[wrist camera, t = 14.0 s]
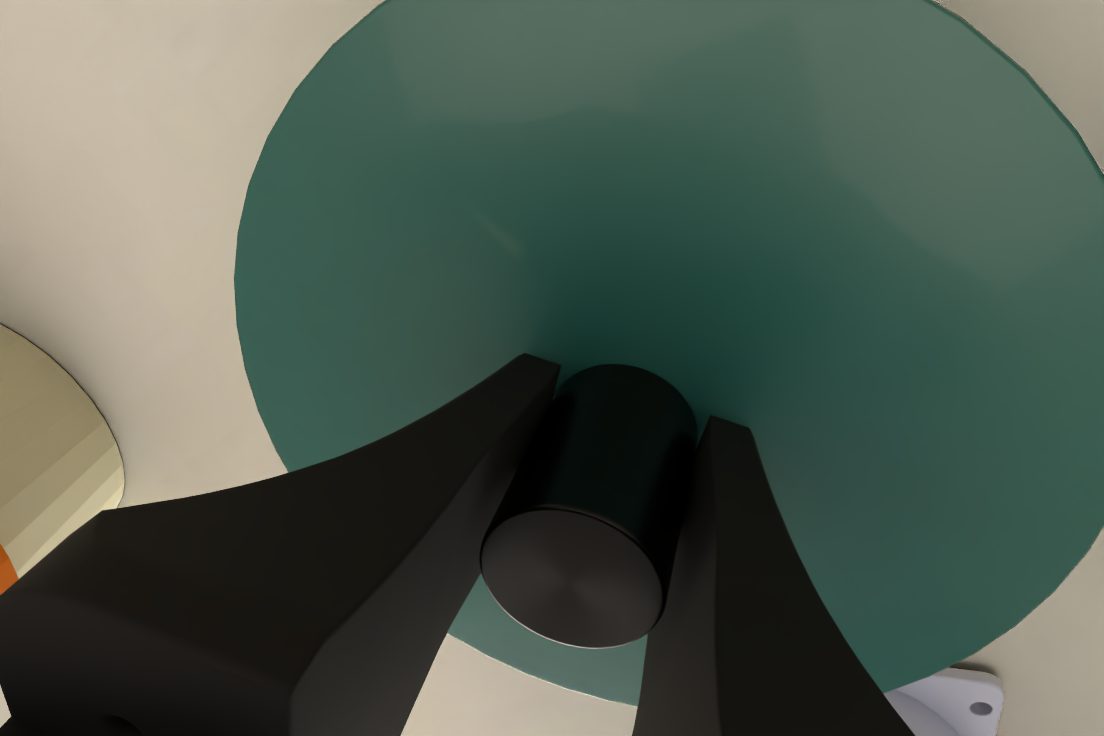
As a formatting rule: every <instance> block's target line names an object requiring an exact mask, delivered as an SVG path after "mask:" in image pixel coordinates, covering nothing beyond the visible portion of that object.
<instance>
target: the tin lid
mask: <svg viewBox="0 0 1104 736" xmlns="http://www.w3.org/2000/svg"><path fill="white" fill-rule="evenodd" d="M234 286H235V303H236V321H237V329H238V334H239V340H240V345H241V350H242V355H243V361H244V366H245V370H246V374H247V377H248V380H249V383H250V386H251V389H252V393H253V396H254V399H255V402H256V405H257V408H258V411H259V414H260V416H261V418H262V420H263V423H264V425H265V427H266V429H267V432H268V434H269V436H270V438H271V441H272V443H273V445H274V447H275V450H276V451H277V453H278V455H279V457H280V458H281V460H282V462H283V464H284V465H285V467H286V469H287V471H288V472H292V471H296V470H299V469H302V468H305V467H308V466H311V465H314V464H317V463H320V462H323V461H326V460H329V459H332V458H335V457H338V456H341V455H343V454H346V453H348V452H350V451H353V450H355V449H358V448H360V447H362V446H365V445H367V444H369V443H372V442H374V441H376V440H378V439H380V438H383V437H385V436H387V435H389V434H391V433H393V432H395V431H397V430H399V429H401V428H403V427H405V426H407V425H408V424H410V423H412V422H414V421H416V420H418V419H420V418H422V417H423V416H425V415H427V414H429V413H431V412H433V411H435V410H436V409H438V408H440V407H441V406H443V405H445V404H446V403H448V402H450V401H451V400H453V399H455V398H456V397H458V396H459V395H461V394H463V393H464V392H466V391H467V390H469V389H471V388H472V387H474V386H475V385H477V384H478V383H480V382H481V381H483V380H484V379H486V378H487V377H489V376H490V375H492V374H493V373H495V372H496V371H497V370H499V369H500V368H502V367H503V366H504V365H506V364H507V363H509V362H510V361H511V360H513V359H514V358H515V357H517V356H519V355H521V354H523V353H527V354H530V355H533V356H536V357H539V358H542V359H545V360H548V361H551V362H554V363H557V364H560V365H561V368H560V372H559V376H558V380H557V384H556V387H555V391H554V395H553V399H552V403H551V405H550V406H549V408H548V410H547V412H546V414H545V416H544V418H543V420H542V422H541V424H540V426H539V428H538V430H537V432H536V434H535V436H534V438H533V440H532V442H531V444H530V446H529V448H528V450H527V451H526V453H525V455H524V457H523V459H522V461H521V463H520V465H519V467H518V469H517V471H516V473H515V475H514V477H513V479H512V481H511V483H510V485H509V487H508V489H507V491H506V493H505V495H504V497H503V499H502V501H501V503H500V505H499V507H498V509H497V511H496V513H495V515H494V517H493V519H492V521H491V523H490V525H489V527H488V529H487V531H486V533H485V535H484V537H483V540H482V542H481V547H480V553H479V562H480V569H481V574H480V575H479V577H478V579H477V581H476V582H475V584H474V586H473V588H472V589H471V591H470V593H469V595H468V596H467V598H466V600H465V602H464V603H463V605H462V607H461V609H460V610H459V612H458V614H457V616H456V617H455V619H454V621H453V622H452V624H451V626H450V628H449V630H448V632H447V633H448V634H450V635H451V636H453V637H455V638H457V639H458V640H460V641H462V642H464V643H465V644H467V645H469V646H471V647H472V648H474V649H476V650H478V651H480V652H481V653H483V654H485V655H487V656H489V657H491V658H493V659H495V660H497V661H500V662H502V663H504V664H506V665H508V666H510V667H512V668H515V669H517V670H519V671H521V672H523V673H525V674H528V675H531V676H533V677H536V678H539V679H542V680H544V681H547V682H550V683H552V684H555V685H558V686H560V687H563V688H566V689H569V690H573V691H576V692H580V693H583V694H587V695H590V696H594V697H597V698H601V699H604V700H608V701H613V702H618V703H623V704H628V705H633V706H638V703H639V697H640V691H641V683H642V675H643V668H644V660H645V652H646V645H647V637H648V633H649V632H650V631H651V630H652V629H653V628H654V626H655V625H656V624H657V623H658V622H659V620H660V619H661V617H662V615H663V613H664V610H665V608H666V603H667V598H668V592H669V587H670V582H671V577H672V571H673V566H674V561H675V556H676V551H677V545H678V540H679V535H680V530H681V524H682V519H683V514H684V509H685V503H686V498H687V493H688V488H689V482H690V477H691V472H692V467H693V461H694V456H695V451H696V449H697V446H698V444H699V442H700V439H701V437H702V434H703V432H704V429H705V427H706V425H707V422H708V420H709V417H710V415H713V416H716V417H719V418H722V419H725V420H728V421H730V422H733V423H736V424H739V425H742V426H745V427H748V428H750V430H751V432H752V434H753V436H754V439H755V442H756V445H757V449H758V452H759V455H760V458H761V461H762V464H763V467H764V470H765V473H766V476H767V479H768V482H769V484H770V487H771V490H772V493H773V495H774V498H775V501H776V503H777V506H778V508H779V510H780V513H781V515H782V518H783V520H784V522H785V525H786V527H787V530H788V532H789V535H790V537H791V539H792V541H793V543H794V546H795V548H796V550H797V552H798V554H799V557H800V559H801V561H802V563H803V565H804V567H805V569H806V571H807V573H808V575H809V577H810V579H811V581H812V583H813V585H814V587H815V588H816V590H817V592H818V594H819V596H820V598H821V600H822V602H823V603H824V605H825V607H826V608H827V610H828V612H829V613H830V615H831V616H832V618H833V620H834V621H835V623H836V625H837V626H838V628H839V630H840V631H841V633H842V635H843V636H844V638H845V639H846V641H847V643H848V644H849V646H850V647H851V649H852V650H853V652H854V653H855V655H856V656H857V658H858V659H859V661H860V662H861V664H862V665H863V666H864V668H865V669H866V670H867V672H868V673H869V675H870V676H871V677H872V679H873V680H874V682H875V683H876V684H877V686H878V687H879V688H880V690H881V691H882V693H883V694H884V693H887V692H889V691H892V690H895V689H898V688H900V687H903V686H906V685H908V684H911V683H914V682H916V681H919V680H922V679H924V678H927V677H930V676H932V675H934V674H935V673H937V672H939V671H941V670H943V669H945V668H947V667H949V666H951V665H953V664H955V663H957V662H959V661H961V660H963V659H965V658H967V657H969V656H971V655H973V654H975V653H976V652H978V651H979V650H980V649H982V648H983V647H985V646H986V645H988V644H989V643H991V642H992V641H994V640H995V639H997V638H998V637H1000V636H1001V635H1003V634H1004V633H1006V632H1007V631H1009V630H1010V629H1012V628H1013V627H1015V626H1016V625H1017V624H1018V623H1019V622H1021V621H1022V620H1023V619H1024V618H1025V617H1026V616H1027V615H1028V614H1030V613H1031V612H1032V611H1033V610H1034V609H1035V608H1036V607H1037V606H1039V605H1040V604H1041V603H1042V602H1043V601H1044V600H1045V599H1046V598H1048V597H1049V596H1050V595H1051V594H1052V593H1053V592H1054V591H1055V590H1056V589H1057V588H1058V587H1059V585H1060V584H1061V583H1062V582H1063V581H1064V580H1065V578H1066V577H1067V576H1068V575H1069V574H1070V572H1071V571H1072V570H1073V569H1074V568H1075V566H1076V565H1077V564H1078V563H1079V562H1080V560H1081V559H1082V558H1083V557H1084V556H1085V555H1086V553H1087V552H1088V551H1089V550H1090V548H1091V546H1092V545H1093V543H1094V541H1095V540H1096V538H1097V536H1098V535H1099V533H1100V531H1101V530H1102V528H1103V526H1104V175H1103V173H1102V172H1101V170H1100V168H1099V167H1098V165H1097V163H1096V162H1095V160H1094V158H1093V157H1092V155H1091V153H1090V151H1089V150H1088V148H1087V146H1086V145H1085V143H1084V141H1083V140H1082V138H1081V136H1080V135H1079V133H1078V131H1077V130H1076V129H1075V128H1074V126H1073V125H1072V124H1071V123H1070V122H1069V121H1068V119H1067V118H1066V117H1065V116H1064V115H1063V114H1062V112H1061V111H1060V110H1059V109H1058V108H1057V107H1056V105H1055V104H1054V103H1053V102H1052V101H1051V100H1050V98H1049V97H1048V96H1047V95H1046V94H1045V93H1044V91H1043V90H1042V89H1041V88H1040V87H1039V86H1038V84H1037V83H1036V82H1035V81H1034V80H1033V79H1032V77H1031V76H1030V75H1029V74H1028V73H1027V72H1026V71H1025V70H1024V69H1023V68H1022V67H1021V66H1019V65H1018V64H1017V63H1016V62H1015V61H1013V60H1012V59H1011V58H1010V57H1009V56H1007V55H1006V54H1005V53H1004V52H1003V51H1001V50H1000V49H999V48H998V47H997V46H995V45H994V44H993V43H992V42H991V41H989V40H988V39H987V38H986V37H985V36H983V35H982V34H981V33H980V32H979V31H977V30H976V29H975V28H974V27H973V26H971V25H970V24H969V23H968V22H967V21H965V20H964V19H963V18H961V17H960V16H958V15H957V14H955V13H953V12H952V11H950V10H948V9H947V8H945V7H943V6H942V5H940V4H938V3H937V2H935V1H933V0H386V1H384V2H382V3H381V4H379V5H378V6H377V7H375V8H374V9H373V10H372V11H371V12H370V13H369V14H367V15H366V16H365V17H364V18H363V19H362V20H360V21H359V22H358V23H357V24H356V25H355V26H354V27H352V28H351V29H350V30H349V31H348V32H347V33H346V34H344V35H343V36H342V37H341V38H340V39H339V40H337V41H336V42H335V43H334V44H333V45H332V46H331V47H330V48H329V49H328V51H327V52H326V53H325V54H324V55H323V57H322V58H321V59H320V60H319V61H318V63H317V64H316V65H315V66H314V68H313V69H312V70H311V71H310V72H309V74H308V75H307V76H306V77H305V78H304V80H303V81H302V82H301V83H300V84H299V86H298V87H297V88H296V89H295V91H294V93H293V94H292V96H291V98H290V99H289V101H288V103H287V104H286V106H285V108H284V109H283V111H282V113H281V115H280V116H279V118H278V120H277V121H276V123H275V125H274V126H273V128H272V130H271V132H270V133H269V135H268V137H267V139H266V142H265V144H264V147H263V150H262V152H261V155H260V157H259V160H258V162H257V165H256V167H255V170H254V172H253V175H252V177H251V180H250V182H249V185H248V190H247V194H246V199H245V203H244V207H243V212H242V216H241V220H240V225H239V229H238V236H237V249H236V262H235V274H234Z"/></svg>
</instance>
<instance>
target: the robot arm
mask: <svg viewBox="0 0 1104 736" xmlns="http://www.w3.org/2000/svg"><path fill="white" fill-rule="evenodd" d="M560 368H561V365H560V364H557V363H554V362H551V361H548V360H545V359H542V358H539V357H536V356H533V355H530V354H527V353H523V354H521V355H519V356H517V357H515V358H514V359H513V360H511V361H510V362H509V363H507V364H506V365H504V366H503V367H502V368H500V369H499V370H497V371H496V372H495V373H493V374H492V375H490V376H489V377H487V378H486V379H484V380H483V381H481V382H480V383H478V384H477V385H475V386H474V387H472V388H471V389H469V390H467V391H466V392H464V393H463V394H461V395H459V396H458V397H456V398H455V399H453V400H451V401H450V402H448V403H446V404H445V405H443V406H441V407H440V408H438V409H436V410H435V411H433V412H431V413H429V414H427V415H425V416H423V417H422V418H420V419H418V420H416V421H414V422H412V423H410V424H408V425H407V426H405V427H403V428H401V429H399V430H397V431H395V432H393V433H391V434H389V435H387V436H385V437H383V438H380V439H378V440H376V441H374V442H372V443H369V444H367V445H365V446H362V447H360V448H358V449H355V450H353V451H350V452H348V453H346V454H343V455H341V456H338V457H335V458H332V459H329V460H326V461H323V462H320V463H317V464H314V465H311V466H308V467H305V468H302V469H299V470H296V471H292V472H289V473H286V474H283V475H280V476H277V477H273V478H269V479H265V480H262V481H258V482H254V483H250V484H246V485H242V486H238V487H233V488H229V489H224V490H220V491H216V492H211V493H206V494H201V495H196V496H191V497H186V498H180V499H174V500H167V501H161V502H155V503H148V504H142V505H136V506H130V507H123V508H116V509H108V510H102V511H101V512H99V513H98V514H97V515H95V516H94V517H93V518H91V519H90V520H89V521H87V522H86V523H85V524H83V525H82V526H81V527H79V528H78V529H77V530H75V531H74V532H73V533H71V534H70V535H69V536H68V537H67V538H65V539H64V540H63V541H62V542H61V543H60V544H59V545H57V546H56V547H55V548H54V549H53V550H52V551H51V552H50V553H48V554H47V555H46V556H45V557H44V558H43V559H41V560H40V561H39V562H38V563H37V564H36V565H35V566H33V567H32V568H31V569H30V570H29V571H28V572H27V573H25V574H24V575H23V576H22V577H21V578H20V579H18V580H17V581H16V582H15V583H14V584H13V585H12V586H10V587H9V588H8V589H7V590H6V591H5V592H4V593H2V594H1V595H0V685H1V688H2V691H3V694H4V697H5V699H6V702H7V705H8V708H9V711H10V713H11V717H10V718H9V719H8V720H7V722H6V723H5V724H4V725H3V726H2V727H1V728H0V736H400V735H401V733H402V731H403V728H404V726H405V724H406V722H407V719H408V717H409V715H410V712H411V710H412V708H413V706H414V703H415V701H416V699H417V697H418V694H419V692H420V690H421V688H422V686H423V683H424V681H425V679H426V677H427V674H428V672H429V670H430V668H431V665H432V663H433V661H434V659H435V656H436V654H437V652H438V650H439V648H440V646H441V644H442V642H443V640H444V638H445V636H446V634H447V632H448V630H449V628H450V626H451V624H452V622H453V621H454V619H455V617H456V616H457V614H458V612H459V610H460V609H461V607H462V605H463V603H464V602H465V600H466V598H467V596H468V595H469V593H470V591H471V589H472V588H473V586H474V584H475V582H476V581H477V579H478V577H479V575H480V574H481V569H480V562H479V553H480V547H481V542H482V540H483V537H484V535H485V533H486V531H487V529H488V527H489V525H490V523H491V521H492V519H493V517H494V515H495V513H496V511H497V509H498V507H499V505H500V503H501V501H502V499H503V497H504V495H505V493H506V491H507V489H508V487H509V485H510V483H511V481H512V479H513V477H514V475H515V473H516V471H517V469H518V467H519V465H520V463H521V461H522V459H523V457H524V455H525V453H526V451H527V450H528V448H529V446H530V444H531V442H532V440H533V438H534V436H535V434H536V432H537V430H538V428H539V426H540V424H541V422H542V420H543V418H544V416H545V414H546V412H547V410H548V408H549V406H550V405H551V403H552V399H553V395H554V391H555V387H556V384H557V380H558V376H559V372H560ZM1004 700H1005V692H1004V688H1003V684H1002V682H1001V681H1000V679H999V678H998V677H996V676H994V675H992V674H990V673H986V672H981V671H973V670H965V669H956V668H948V667H947V668H945V669H943V670H941V671H939V672H937V673H935V674H934V675H932V676H930V677H927V678H924V679H922V680H919V681H916V682H914V683H911V684H908V685H906V686H903V687H900V688H898V689H895V690H892V691H889V692H887V693H884V694H883V693H882V691H881V690H880V688H879V687H878V686H877V684H876V683H875V682H874V680H873V679H872V677H871V676H870V675H869V673H868V672H867V670H866V669H865V668H864V666H863V665H862V664H861V662H860V661H859V659H858V658H857V656H856V655H855V653H854V652H853V650H852V649H851V647H850V646H849V644H848V643H847V641H846V639H845V638H844V636H843V635H842V633H841V631H840V630H839V628H838V626H837V625H836V623H835V621H834V620H833V618H832V616H831V615H830V613H829V612H828V610H827V608H826V607H825V605H824V603H823V602H822V600H821V598H820V596H819V594H818V592H817V590H816V588H815V587H814V585H813V583H812V581H811V579H810V577H809V575H808V573H807V571H806V569H805V567H804V565H803V563H802V561H801V559H800V557H799V554H798V552H797V550H796V548H795V546H794V543H793V541H792V539H791V537H790V535H789V532H788V530H787V527H786V525H785V522H784V520H783V518H782V515H781V513H780V510H779V508H778V506H777V503H776V501H775V498H774V495H773V493H772V490H771V487H770V484H769V482H768V479H767V476H766V473H765V470H764V467H763V464H762V461H761V458H760V455H759V452H758V449H757V445H756V442H755V439H754V436H753V434H752V432H751V430H750V428H748V427H745V426H742V425H739V424H736V423H733V422H730V421H728V420H725V419H722V418H719V417H716V416H713V415H710V417H709V420H708V422H707V425H706V427H705V429H704V432H703V434H702V437H701V439H700V442H699V444H698V446H697V449H696V451H695V456H694V461H693V467H692V472H691V477H690V482H689V488H688V493H687V498H686V503H685V509H684V514H683V519H682V524H681V530H680V535H679V540H678V545H677V551H676V556H675V561H674V566H673V571H672V577H671V582H670V587H669V592H668V598H667V603H666V608H665V610H664V613H663V615H662V617H661V619H660V620H659V622H658V623H657V624H656V625H655V626H654V628H653V629H652V630H651V631H650V632H649V633H648V637H647V645H646V652H645V660H644V668H643V675H642V683H641V691H640V697H639V703H638V709H637V714H636V720H635V725H634V730H633V734H632V736H996V734H997V729H998V725H999V721H1000V717H1001V713H1002V709H1003V704H1004Z"/></svg>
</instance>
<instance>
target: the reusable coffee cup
mask: <svg viewBox="0 0 1104 736" xmlns="http://www.w3.org/2000/svg"><path fill="white" fill-rule="evenodd" d="M124 483H125V480H124V470H123V463H122V459H121V456H120V453H119V450H118V447H117V443H116V441H115V439H114V437H113V435H112V433H111V431H110V429H109V427H108V425H107V423H106V421H105V420H104V418H103V417H102V415H101V414H100V412H99V411H98V409H97V408H96V406H95V405H94V403H93V402H92V401H91V399H90V398H89V397H88V395H87V394H86V393H85V392H84V391H83V390H82V389H81V387H80V386H79V385H78V384H77V383H76V382H75V380H74V379H73V378H72V377H71V376H70V375H69V374H68V373H67V372H66V371H65V370H63V369H62V368H61V367H60V366H59V365H58V364H57V363H56V362H55V361H54V360H53V359H52V358H51V357H49V356H48V355H47V354H46V353H44V352H43V351H41V350H40V349H39V348H37V347H36V346H35V345H33V344H32V343H31V342H29V341H28V340H27V339H25V338H24V337H22V336H20V335H18V334H17V333H15V332H13V331H11V330H9V329H8V328H6V327H4V326H2V325H1V324H0V595H1V594H2V593H4V592H5V591H6V590H7V589H8V588H9V587H10V586H12V585H13V584H14V583H15V582H16V581H17V580H18V579H20V578H21V577H22V576H23V575H24V574H25V573H27V572H28V571H29V570H30V569H31V568H32V567H33V566H35V565H36V564H37V563H38V562H39V561H40V560H41V559H43V558H44V557H45V556H46V555H47V554H48V553H50V552H51V551H52V550H53V549H54V548H55V547H56V546H57V545H59V544H60V543H61V542H62V541H63V540H64V539H65V538H67V537H68V536H69V535H70V534H71V533H73V532H74V531H75V530H77V529H78V528H79V527H81V526H82V525H83V524H85V523H86V522H87V521H89V520H90V519H91V518H93V517H94V516H95V515H97V514H98V513H99V512H101V511H102V510H108V509H116V508H117V506H118V504H119V502H120V500H121V498H122V495H123V489H124Z"/></svg>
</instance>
